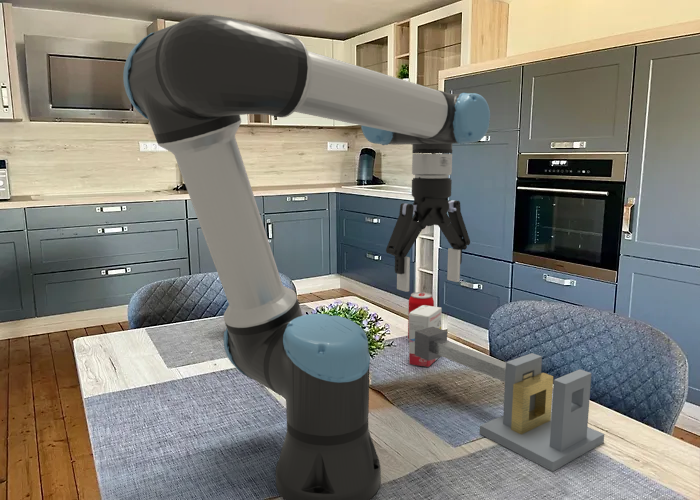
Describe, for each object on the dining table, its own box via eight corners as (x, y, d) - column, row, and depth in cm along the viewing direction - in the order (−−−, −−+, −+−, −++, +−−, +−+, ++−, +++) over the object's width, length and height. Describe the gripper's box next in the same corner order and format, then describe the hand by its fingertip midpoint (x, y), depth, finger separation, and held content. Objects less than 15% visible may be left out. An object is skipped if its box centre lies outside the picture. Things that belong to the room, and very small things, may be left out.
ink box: (428, 368, 122) (429, 316, 120) (407, 364, 124) (407, 313, 122) (442, 355, 129) (443, 306, 127) (421, 352, 132) (422, 304, 130)
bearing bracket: (552, 471, 83) (557, 392, 80) (479, 433, 94) (482, 363, 92) (603, 442, 91) (609, 370, 88) (530, 410, 102) (534, 345, 100)
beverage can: (405, 344, 137) (406, 296, 135) (410, 336, 143) (411, 290, 141) (430, 346, 136) (431, 298, 134) (434, 338, 141) (435, 292, 139)
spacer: (521, 434, 90) (523, 388, 89) (511, 429, 92) (513, 384, 91) (550, 420, 95) (553, 376, 94) (540, 416, 97) (543, 372, 95)
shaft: (517, 398, 92) (518, 370, 91) (414, 354, 112) (415, 331, 111) (535, 390, 95) (537, 363, 94) (432, 349, 115) (433, 326, 114)
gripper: (394, 179, 96) (392, 298, 99) (490, 175, 110) (486, 280, 114) (367, 177, 102) (367, 290, 105) (462, 174, 116) (458, 274, 120)
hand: (429, 285), depth 110 cm, fingers open, 13 cm apart
